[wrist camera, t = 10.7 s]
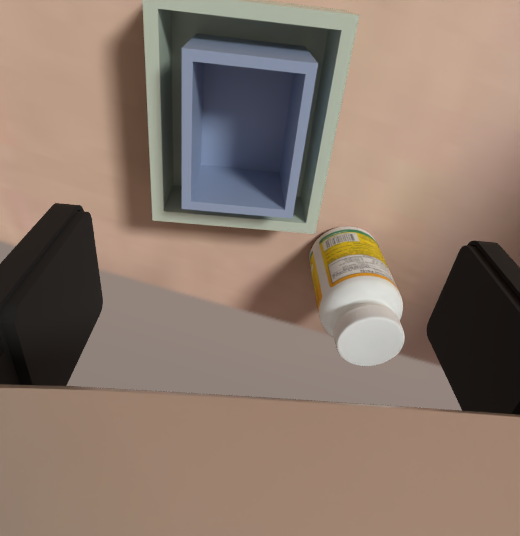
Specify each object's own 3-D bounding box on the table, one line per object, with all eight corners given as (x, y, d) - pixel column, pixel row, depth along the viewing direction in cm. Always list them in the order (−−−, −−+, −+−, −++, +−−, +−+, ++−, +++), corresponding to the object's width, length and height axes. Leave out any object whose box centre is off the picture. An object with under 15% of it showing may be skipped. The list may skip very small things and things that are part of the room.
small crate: (305, 46, 24) (318, 63, 19) (285, 177, 29) (292, 218, 24) (196, 33, 24) (181, 47, 19) (194, 168, 28) (181, 208, 23)
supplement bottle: (335, 211, 31) (363, 293, 23) (392, 243, 32) (437, 329, 24) (294, 265, 33) (307, 355, 25) (349, 292, 35) (377, 384, 27)
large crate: (342, 9, 24) (359, 15, 20) (307, 203, 31) (315, 234, 27) (159, -13, 23) (141, -11, 19) (164, 190, 30) (152, 220, 26)
